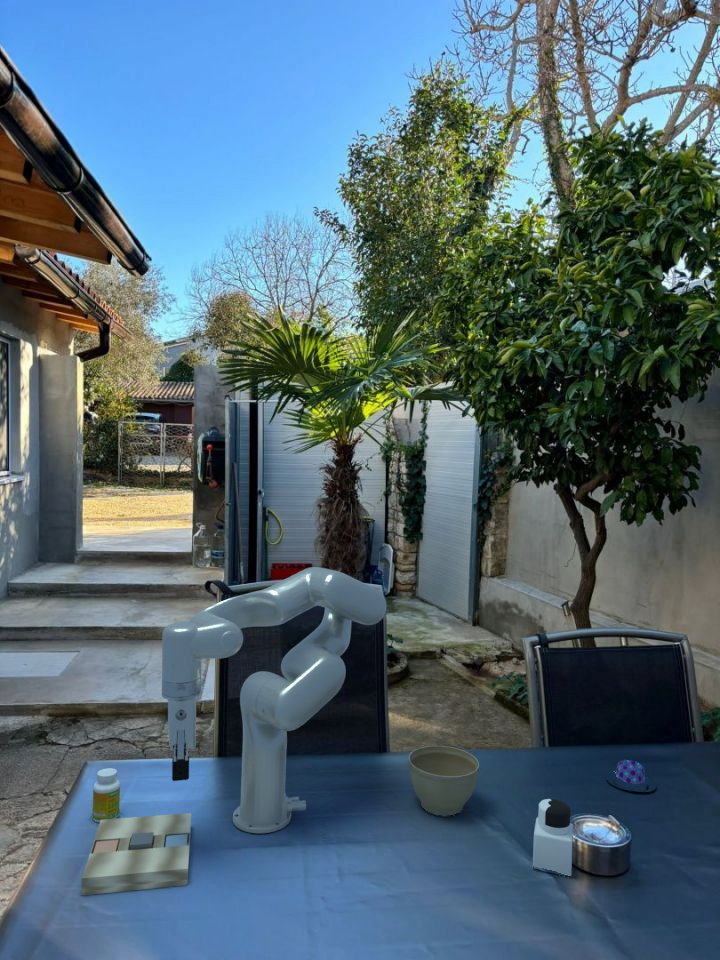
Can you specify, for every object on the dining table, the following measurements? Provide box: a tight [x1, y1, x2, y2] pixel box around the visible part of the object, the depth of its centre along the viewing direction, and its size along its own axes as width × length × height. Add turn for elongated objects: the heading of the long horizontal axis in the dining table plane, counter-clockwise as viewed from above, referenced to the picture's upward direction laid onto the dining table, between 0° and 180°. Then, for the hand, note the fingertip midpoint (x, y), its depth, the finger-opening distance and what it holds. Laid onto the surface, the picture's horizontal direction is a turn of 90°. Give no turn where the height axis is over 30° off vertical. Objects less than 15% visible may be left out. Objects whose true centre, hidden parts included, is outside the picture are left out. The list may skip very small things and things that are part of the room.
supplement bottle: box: [91, 767, 121, 824], centre depth 141 cm, size 5×5×10 cm
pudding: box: [614, 759, 647, 784], centre depth 166 cm, size 12×12×5 cm
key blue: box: [165, 834, 188, 847], centre depth 128 cm, size 4×4×2 cm
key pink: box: [93, 840, 119, 853], centre depth 125 cm, size 4×4×2 cm
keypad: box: [80, 812, 192, 896], centre depth 126 cm, size 18×20×3 cm
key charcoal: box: [130, 832, 154, 850], centre depth 126 cm, size 4×4×2 cm
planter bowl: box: [408, 745, 480, 816], centre depth 150 cm, size 16×16×11 cm
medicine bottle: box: [532, 798, 574, 877], centre depth 129 cm, size 7×7×12 cm
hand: (180, 778), depth 130 cm, fingers closed
